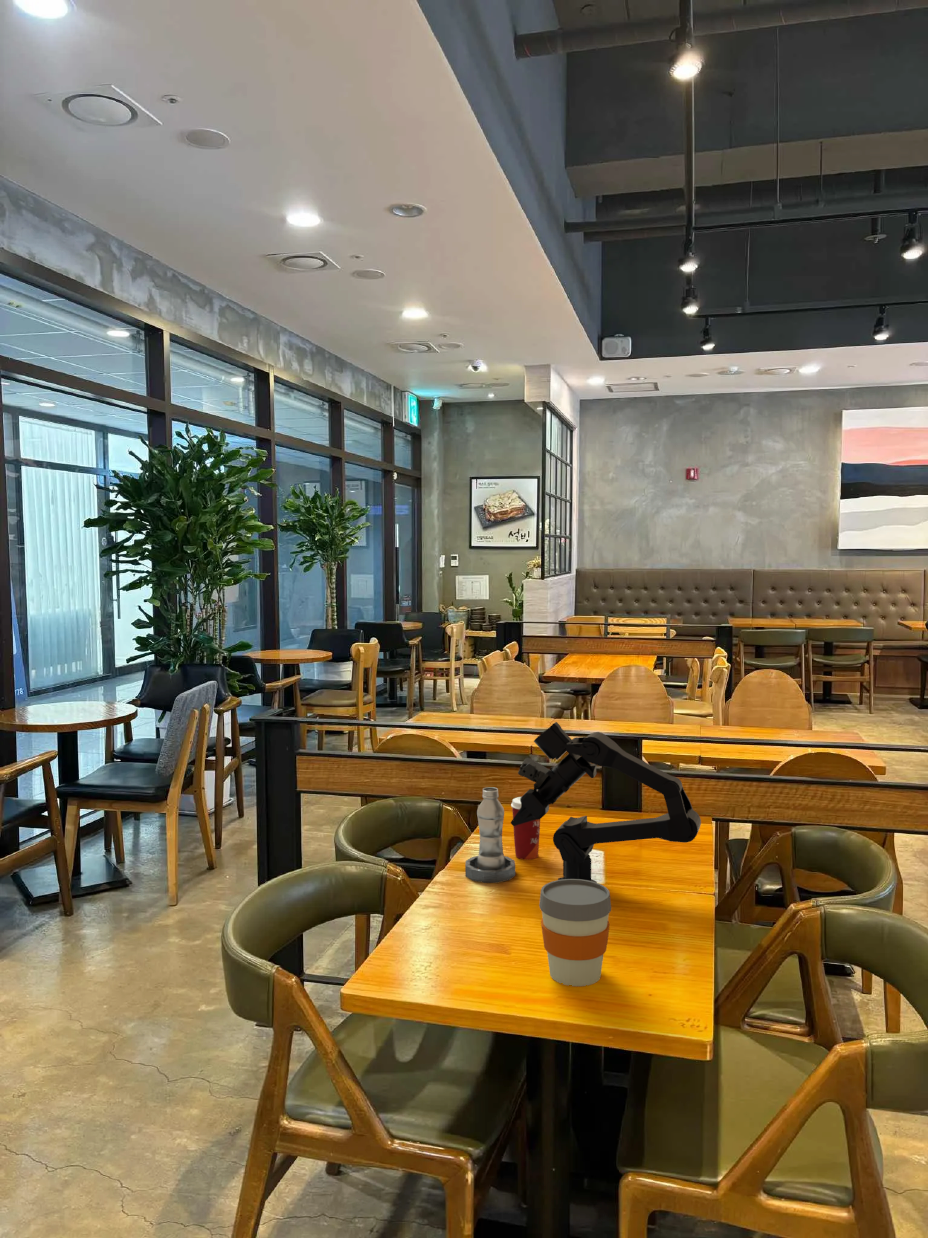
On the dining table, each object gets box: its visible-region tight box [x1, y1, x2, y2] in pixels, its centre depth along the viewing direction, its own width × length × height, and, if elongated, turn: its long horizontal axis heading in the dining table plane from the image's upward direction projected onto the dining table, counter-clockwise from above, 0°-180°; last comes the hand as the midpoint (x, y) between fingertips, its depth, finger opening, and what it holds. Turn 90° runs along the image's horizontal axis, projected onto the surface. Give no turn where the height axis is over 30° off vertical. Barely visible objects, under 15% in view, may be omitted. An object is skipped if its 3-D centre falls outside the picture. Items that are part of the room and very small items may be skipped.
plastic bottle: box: [476, 786, 505, 870], centre depth 205 cm, size 6×7×20 cm
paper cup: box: [510, 796, 541, 861], centre depth 217 cm, size 8×8×14 cm
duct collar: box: [464, 855, 516, 884], centre depth 205 cm, size 12×12×2 cm
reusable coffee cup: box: [538, 879, 612, 987], centre depth 155 cm, size 13×13×15 cm
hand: (517, 818), depth 202 cm, fingers open, 9 cm apart
